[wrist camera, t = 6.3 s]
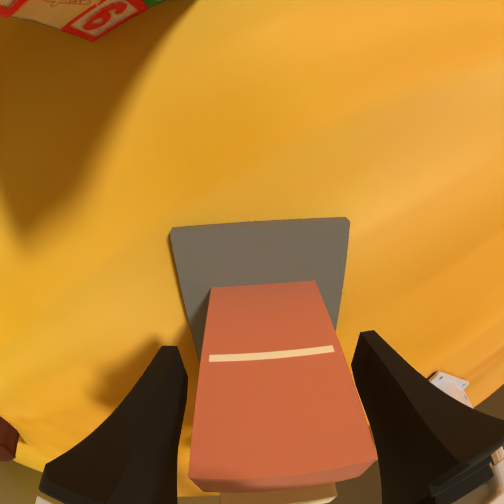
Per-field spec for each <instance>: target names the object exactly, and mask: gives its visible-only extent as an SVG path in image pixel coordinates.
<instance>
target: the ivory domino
mask: <svg viewBox="0 0 504 504" xmlns="http://www.w3.org/2000/svg"><path fill="white" fill-rule="evenodd" d="M336 496H337V492H336V486H335V482H333V483H328V484H323V485H317V486H311V487H305V488H297V489H289V490H279V491H266V492H241V493H227V492H220V504H323V503H328V502H330V501H331V500H333V499H334V498H335V497H336Z"/></svg>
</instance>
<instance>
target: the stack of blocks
mask: <svg viewBox="0 0 504 504" xmlns="http://www.w3.org/2000/svg"><path fill="white" fill-rule="evenodd" d="M162 1H164V0H0V16H1V17H10V16H12V17H15V18H19V19H24V20H29V21H34V22H37V23H41V24H44V25H47V26H50V27H54V28H58V30H60V31H63V32H66V33H69V34H72V35H76V36H79V37H81V38H83V39H86V40H88V41H95V40H96V39H98V38H99V37H101V36H102V35H104V34H105V33H107V32H108V31H110V30H112V29H113V28H115V27H117V26H118V25H120V24H122V23H123V22H125V21H127V20H128V19H130V18H132V17H134V16H136V15H138V14H139V13H141V12H143V11H145V10H147V9H148V8H150V7H152V6H154V5H156V4H158V3H160V2H162Z"/></svg>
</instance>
